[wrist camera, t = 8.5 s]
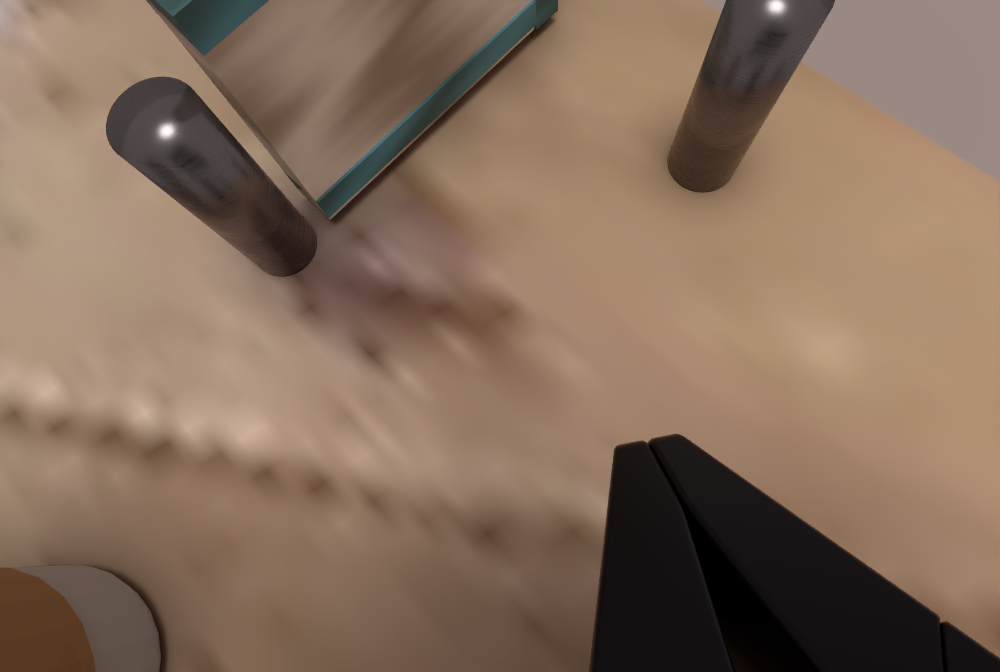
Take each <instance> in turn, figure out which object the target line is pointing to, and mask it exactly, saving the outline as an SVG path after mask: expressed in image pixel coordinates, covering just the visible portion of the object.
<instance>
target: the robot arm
mask: <svg viewBox="0 0 1000 672" xmlns="http://www.w3.org/2000/svg"><path fill="white" fill-rule="evenodd" d="M589 672H1000V658H999V657H998V656H996V655H995V654H993V653H992V652H990V651H989V650H987V649H986V648H985V647H983V646H982V645H980V644H979V643H977V642H976V641H975V640H973V639H972V638H970V637H969V636H968V635H966V634H965V633H963V632H962V631H960V630H959V629H958V628H956V627H955V626H953V625H952V624H950V623H949V622H946V621H945V622H942V623H941V624H940V618H939V616H938V615H937V614H936V613H934V612H933V611H931V610H930V609H929V608H927V607H926V606H924V605H923V604H921V603H920V602H919V601H917V600H916V599H914V598H913V597H912V596H910V595H909V594H907V593H906V592H904V591H903V590H902V589H900V588H899V587H897V586H896V585H894V584H893V583H892V582H890V581H889V580H887V579H886V578H884V577H883V576H882V575H880V574H879V573H877V572H876V571H875V570H873V569H872V568H870V567H869V566H867V565H866V564H865V563H863V562H862V561H860V560H859V559H857V558H856V557H855V556H853V555H852V554H850V553H849V552H848V551H846V550H845V549H843V548H842V547H840V546H839V545H838V544H836V543H835V542H833V541H832V540H830V539H829V538H828V537H826V536H825V535H823V534H822V533H820V532H819V531H818V530H816V529H815V528H813V527H812V526H811V525H809V524H808V523H806V522H805V521H803V520H802V519H801V518H799V517H798V516H796V515H795V514H793V513H792V512H791V511H789V510H788V509H786V508H785V507H784V506H782V505H781V504H779V503H778V502H776V501H775V500H774V499H772V498H771V497H769V496H768V495H766V494H765V493H764V492H762V491H761V490H759V489H758V488H756V487H755V486H754V485H752V484H751V483H749V482H748V481H747V480H745V479H744V478H742V477H741V476H739V475H738V474H737V473H735V472H734V471H732V470H731V469H729V468H728V467H727V466H725V465H724V464H722V463H721V462H720V461H718V460H717V459H715V458H714V457H712V456H711V455H710V454H708V453H707V452H705V451H704V450H702V449H701V448H700V447H698V446H697V445H695V444H694V443H692V442H691V441H690V440H688V439H687V438H685V437H684V436H682V435H679V434H672V435H667V436H662V437H657V438H652V439H651V440H650V441H649V442H648V443H647V442H645V441H636V442H631V443H626V444H621V445H617V446H616V447H615V449H614V455H613V464H612V473H611V482H610V491H609V499H608V508H607V517H606V526H605V535H604V544H603V552H602V561H601V570H600V579H599V588H598V597H597V606H596V614H595V623H594V632H593V641H592V650H591V659H590V668H589Z"/></svg>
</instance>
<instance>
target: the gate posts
mask: <svg viewBox="0 0 1000 672" xmlns="http://www.w3.org/2000/svg"><path fill="white" fill-rule="evenodd" d="M834 2H835V0H726V2H725V5H724V8H723V10H722V13H721V15H720V18H719V21H718V24H717V26H716V29H715V32H714V34H713V37H712V40H711V42H710V45H709V48H708V50H707V53H706V56H705V58H704V61H703V64H702V66H701V69H700V72H699V74H698V77H697V80H696V82H695V85H694V88H693V90H692V93H691V96H690V99H689V101H688V104H687V107H686V109H685V112H684V115H683V117H682V120H681V123H680V125H679V128H678V131H677V133H676V136H675V139H674V141H673V144H672V147H671V149H670V152H669V156H668V167H669V170H670V173H671V175H672V176H673V178H674V179H675V180H676V181H677V182H678V183H679V184H680V185H682V186H683V187H685V188H687V189H689V190H692V191H697V192H709V191H713V190H716V189H718V188H720V187H722V186H723V185H725V184H726V183H727V182H728V181H729V179H730V178H731V177H732V175H733V173H734V172H735V170H736V168H737V167H738V165H739V163H740V161H741V160H742V158H743V156H744V155H745V153H746V151H747V150H748V148H749V146H750V145H751V143H752V141H753V140H754V138H755V136H756V135H757V133H758V131H759V130H760V128H761V126H762V125H763V123H764V121H765V120H766V118H767V116H768V115H769V113H770V111H771V110H772V108H773V106H774V105H775V103H776V101H777V100H778V98H779V96H780V95H781V93H782V91H783V90H784V88H785V86H786V85H787V83H788V81H789V80H790V78H791V76H792V75H793V73H794V71H795V70H796V68H797V66H798V64H799V63H800V61H801V59H802V58H803V56H804V54H805V53H806V51H807V49H808V48H809V46H810V44H811V43H812V41H813V39H814V38H815V36H816V34H817V33H818V31H819V29H820V28H821V26H822V24H823V23H824V21H825V19H826V18H827V16H828V14H829V13H830V11H831V9H832V7H833V5H834ZM106 134H107V138H108V141H109V143H110V145H111V147H112V148H113V150H114V151H115V152H116V153H117V154H118V155H120V156H121V157H122V158H123V159H125V160H126V161H127V162H128V163H130V164H131V165H132V166H133V167H135V168H136V169H137V170H138V171H140V172H141V173H142V174H143V175H145V176H146V177H147V178H148V179H150V180H151V181H152V182H153V183H155V184H156V185H157V186H158V187H160V188H161V189H162V190H163V191H165V192H166V193H167V194H168V195H170V196H171V197H172V198H173V199H175V200H176V201H177V202H178V203H180V204H181V205H182V206H183V207H185V208H186V209H187V210H188V211H190V212H191V213H192V214H193V215H195V216H196V217H197V218H198V219H200V220H201V221H202V222H203V223H205V224H206V225H207V226H208V227H210V228H211V229H212V230H213V231H215V232H216V233H217V234H218V235H220V236H221V237H222V238H223V239H225V240H226V241H227V242H228V243H230V244H231V245H232V246H233V247H235V248H236V249H237V250H238V251H240V252H241V253H242V254H243V255H245V256H246V257H247V258H248V259H250V260H251V261H252V262H253V263H255V264H256V265H257V266H258V267H260V268H261V269H262V270H263V271H265V272H267V273H268V274H271V275H275V276H288V275H292V274H295V273H297V272H299V271H300V270H302V269H303V268H304V267H306V266H307V265H308V263H309V262H310V261H311V259H312V258H313V256H314V253H315V250H316V245H317V240H316V235H315V232H314V230H313V228H312V227H311V225H310V224H309V223H308V222H307V221H306V220H305V218H304V217H303V216H302V215H301V214H300V213H299V211H298V210H297V209H296V208H295V207H294V206H293V205H292V203H291V202H290V201H289V200H288V199H287V198H286V196H285V195H284V194H283V193H282V192H281V191H280V190H279V188H278V187H277V186H276V185H275V184H274V183H273V181H272V180H271V179H270V178H269V177H268V176H267V174H266V173H265V172H264V171H263V170H262V169H261V168H260V166H259V165H258V164H257V163H256V162H255V161H254V159H253V158H252V157H251V156H250V155H249V154H248V153H247V151H246V150H245V149H244V148H243V147H242V146H241V144H240V143H239V142H238V141H237V140H236V139H235V137H234V136H233V135H232V134H231V133H230V132H229V131H228V129H227V128H226V127H225V126H224V125H223V124H222V122H221V121H220V120H219V119H218V118H217V117H216V116H215V114H214V113H213V112H212V111H211V110H210V109H209V107H208V106H207V105H206V104H205V103H204V102H203V100H202V99H201V98H200V97H199V96H198V95H197V94H196V92H195V91H194V90H193V89H192V88H191V87H190V86H189V85H187V84H186V83H184V82H183V81H181V80H178V79H175V78H171V77H154V78H149V79H145V80H143V81H140V82H138V83H136V84H134V85H133V86H131V87H129V88H128V89H127V90H126V91H124V92H123V93H122V94H121V95H120V96H119V97H118V99H117V100H116V101H115V102H114V104H113V106H112V107H111V109H110V112H109V114H108V117H107V122H106Z"/></svg>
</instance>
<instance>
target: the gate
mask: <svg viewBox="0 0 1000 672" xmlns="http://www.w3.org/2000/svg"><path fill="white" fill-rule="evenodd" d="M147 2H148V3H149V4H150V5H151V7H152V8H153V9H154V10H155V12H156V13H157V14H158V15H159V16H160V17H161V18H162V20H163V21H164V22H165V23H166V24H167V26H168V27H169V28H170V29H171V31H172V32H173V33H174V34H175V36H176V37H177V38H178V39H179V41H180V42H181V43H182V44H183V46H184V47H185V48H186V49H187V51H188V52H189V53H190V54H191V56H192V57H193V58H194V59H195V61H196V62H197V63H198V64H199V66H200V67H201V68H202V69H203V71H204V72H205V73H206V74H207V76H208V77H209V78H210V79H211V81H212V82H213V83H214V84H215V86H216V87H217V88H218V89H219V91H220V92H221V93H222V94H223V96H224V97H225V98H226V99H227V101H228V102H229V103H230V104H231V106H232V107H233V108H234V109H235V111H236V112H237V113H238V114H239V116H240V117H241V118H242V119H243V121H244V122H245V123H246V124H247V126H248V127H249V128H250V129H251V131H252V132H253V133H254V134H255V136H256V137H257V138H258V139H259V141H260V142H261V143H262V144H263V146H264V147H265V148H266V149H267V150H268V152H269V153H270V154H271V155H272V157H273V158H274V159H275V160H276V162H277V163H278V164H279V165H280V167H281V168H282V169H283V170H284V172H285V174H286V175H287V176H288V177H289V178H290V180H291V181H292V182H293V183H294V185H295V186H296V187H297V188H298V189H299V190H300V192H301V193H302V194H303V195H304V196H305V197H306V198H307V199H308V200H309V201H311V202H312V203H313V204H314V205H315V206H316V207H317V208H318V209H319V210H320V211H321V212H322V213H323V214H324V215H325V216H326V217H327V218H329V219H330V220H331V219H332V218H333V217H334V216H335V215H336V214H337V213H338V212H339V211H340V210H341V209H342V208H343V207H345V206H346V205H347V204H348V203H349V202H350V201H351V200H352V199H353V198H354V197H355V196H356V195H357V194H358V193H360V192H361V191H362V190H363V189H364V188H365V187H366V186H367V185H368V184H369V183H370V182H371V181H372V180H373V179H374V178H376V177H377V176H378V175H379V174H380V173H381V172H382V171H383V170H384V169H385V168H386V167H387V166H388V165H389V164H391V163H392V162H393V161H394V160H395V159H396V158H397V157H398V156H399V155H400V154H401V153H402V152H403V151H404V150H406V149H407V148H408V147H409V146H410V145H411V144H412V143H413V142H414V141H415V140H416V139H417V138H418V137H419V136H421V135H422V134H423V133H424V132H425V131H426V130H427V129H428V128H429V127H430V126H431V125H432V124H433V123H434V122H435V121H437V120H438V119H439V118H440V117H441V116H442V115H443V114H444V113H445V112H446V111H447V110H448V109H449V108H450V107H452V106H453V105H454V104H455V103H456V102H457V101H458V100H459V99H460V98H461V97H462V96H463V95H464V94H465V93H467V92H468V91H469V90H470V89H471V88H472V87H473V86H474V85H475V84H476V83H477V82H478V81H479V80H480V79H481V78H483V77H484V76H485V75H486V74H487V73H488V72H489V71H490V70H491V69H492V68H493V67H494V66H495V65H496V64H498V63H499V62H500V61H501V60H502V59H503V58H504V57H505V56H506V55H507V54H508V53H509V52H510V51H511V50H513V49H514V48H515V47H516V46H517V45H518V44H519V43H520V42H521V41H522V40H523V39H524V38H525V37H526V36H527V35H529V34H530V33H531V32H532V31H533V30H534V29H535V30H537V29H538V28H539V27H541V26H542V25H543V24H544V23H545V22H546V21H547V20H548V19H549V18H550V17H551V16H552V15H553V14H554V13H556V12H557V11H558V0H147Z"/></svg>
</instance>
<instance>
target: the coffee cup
mask: <svg viewBox="0 0 1000 672" xmlns="http://www.w3.org/2000/svg"><path fill="white" fill-rule="evenodd" d="M160 662H161V652H160V643H159V633H158V630H157V627H156V625H155V622H154V619H153V617H152V614H151V611H150V610H149V608H148V607H147V605H146V604H145V603H144V601H143V600H142V599H141V597H140V596H139V595H138V593H137V592H136V591H134V590H133V589H132V588H131V587H129V586H128V585H127V584H125V583H124V582H123V581H121V580H120V579H118V578H117V577H116V576H114V575H113V574H112V573H109V572H106V571H103V570H100V569H97V568H94V567H91V566H86V565H57V566H40V567H23V568H0V672H159V670H160Z"/></svg>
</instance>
